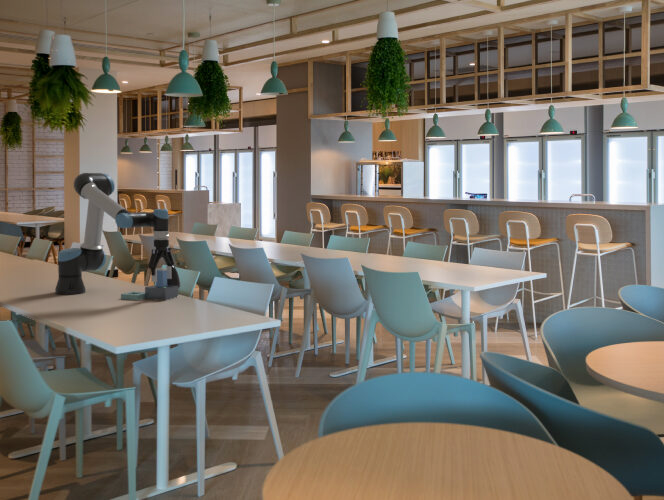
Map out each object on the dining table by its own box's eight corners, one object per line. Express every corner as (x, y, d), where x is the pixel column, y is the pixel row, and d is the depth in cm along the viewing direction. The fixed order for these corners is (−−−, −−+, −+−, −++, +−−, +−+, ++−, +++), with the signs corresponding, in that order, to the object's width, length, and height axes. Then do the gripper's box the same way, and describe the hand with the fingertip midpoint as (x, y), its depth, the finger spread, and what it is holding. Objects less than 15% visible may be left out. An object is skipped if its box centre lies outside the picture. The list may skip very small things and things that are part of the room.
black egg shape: (183, 292, 377) (182, 264, 376) (176, 295, 367) (176, 266, 365) (164, 291, 378) (164, 264, 377) (158, 294, 368) (158, 266, 366)
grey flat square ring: (120, 298, 352) (120, 294, 352) (132, 296, 361) (132, 291, 361) (137, 300, 349) (137, 295, 349) (149, 297, 358) (148, 292, 358)
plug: (155, 296, 356) (155, 268, 354) (160, 295, 359) (160, 267, 358) (163, 296, 354) (162, 268, 353) (167, 295, 358) (167, 268, 357)
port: (145, 298, 353) (144, 286, 353) (158, 295, 365) (158, 283, 364) (165, 300, 349) (165, 287, 349) (178, 296, 361) (178, 284, 360)
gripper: (153, 241, 341) (154, 283, 343) (180, 237, 365) (180, 277, 367) (140, 240, 344) (141, 282, 346) (168, 237, 367) (168, 276, 369)
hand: (161, 280), depth 356 cm, fingers open, 13 cm apart
